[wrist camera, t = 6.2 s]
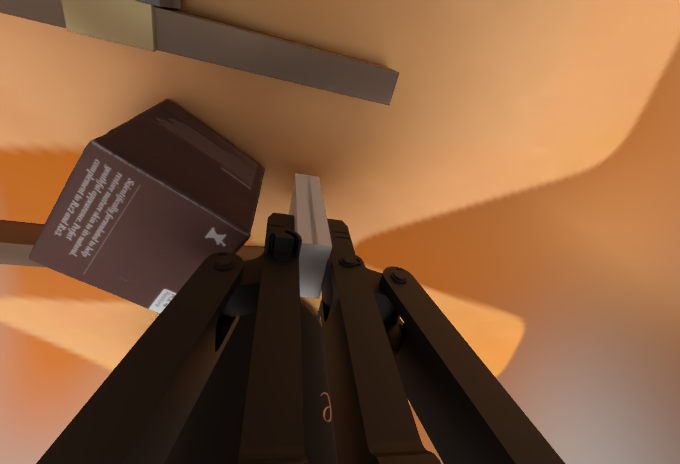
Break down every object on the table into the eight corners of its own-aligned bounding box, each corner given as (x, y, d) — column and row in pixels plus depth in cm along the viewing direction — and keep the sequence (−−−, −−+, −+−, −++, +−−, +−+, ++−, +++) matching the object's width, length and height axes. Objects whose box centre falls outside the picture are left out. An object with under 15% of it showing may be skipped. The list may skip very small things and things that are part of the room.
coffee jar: (291, 379, 31) (298, 709, 16) (176, 358, 27) (43, 776, 12) (346, 307, 26) (426, 674, 12) (217, 269, 22) (87, 762, 7)
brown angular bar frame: (-338, -230, 9) (-652, -356, 6) (404, 11, 15) (434, 9, 12) (-85, 233, 18) (-163, 278, 15) (329, 271, 24) (336, 308, 21)
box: (168, 94, 16) (88, 134, 10) (268, 167, 18) (255, 236, 12) (115, 181, 18) (20, 260, 12) (212, 236, 20) (176, 324, 14)
